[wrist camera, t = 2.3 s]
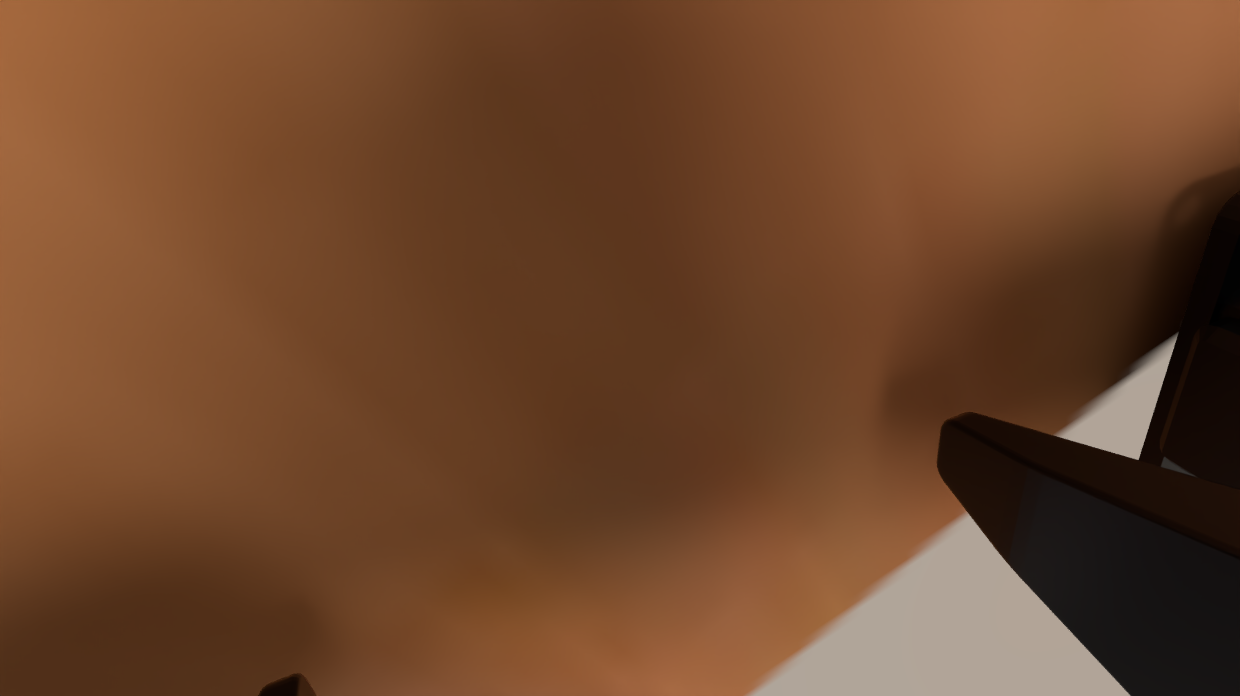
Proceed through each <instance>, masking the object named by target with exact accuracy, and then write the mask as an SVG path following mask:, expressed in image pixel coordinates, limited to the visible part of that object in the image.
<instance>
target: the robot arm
mask: <svg viewBox="0 0 1240 696" xmlns="http://www.w3.org/2000/svg"><path fill="white" fill-rule="evenodd" d="M937 468H938V471H939V474H940V476H941V478H942V479H943V481H944V482H945V484H946V485H947V486H948V487H949V489H950V490H951V491H952V493H953V494H954V495H955V497H956V498H957V499H958V500H959V502H960V503H961V504H962V506H963V507H964V508H965V510H966V511H967V512H968V513H969V515H970V516H971V517H972V519H973V520H974V521H975V522H976V524H977V525H978V526H979V528H980V529H981V530H982V532H983V533H984V534H985V535H986V537H987V538H988V539H989V541H990V542H991V543H992V544H993V546H994V547H995V549H996V550H997V551H998V552H999V554H1000V555H1001V556H1002V557H1003V558H1004V560H1005V561H1006V562H1007V563H1008V564H1009V565H1010V567H1011V568H1012V569H1013V570H1014V571H1015V572H1016V573H1017V574H1018V576H1019V577H1020V578H1021V579H1022V580H1023V581H1024V582H1025V583H1026V584H1027V585H1028V586H1029V587H1030V588H1031V590H1032V591H1033V592H1034V593H1035V594H1036V595H1037V596H1038V597H1039V598H1040V599H1041V600H1042V601H1043V602H1044V604H1045V605H1047V607H1048V608H1049V609H1050V610H1051V611H1052V612H1053V613H1054V614H1055V615H1056V616H1057V617H1058V618H1059V620H1060V621H1061V622H1062V623H1063V624H1064V625H1065V626H1066V627H1067V628H1068V629H1069V630H1070V631H1071V632H1072V633H1073V635H1074V636H1075V637H1076V638H1077V639H1078V640H1079V641H1080V642H1081V643H1082V644H1083V645H1084V646H1085V647H1086V648H1087V650H1088V651H1089V652H1090V653H1091V654H1092V655H1093V656H1094V657H1095V658H1096V659H1097V660H1098V661H1099V662H1100V663H1101V665H1102V666H1103V667H1104V668H1105V669H1106V670H1107V671H1108V672H1109V673H1110V674H1111V675H1112V676H1113V677H1114V678H1115V679H1116V681H1117V682H1118V683H1119V684H1120V685H1121V686H1122V687H1123V688H1124V689H1125V690H1126V691H1127V692H1128V693H1129V694H1130V696H1240V192H1238V193H1236V194H1235V195H1234V196H1233V197H1232V198H1231V199H1230V200H1229V201H1228V202H1227V203H1226V204H1225V205H1224V206H1223V208H1222V209H1221V211H1220V212H1219V213H1218V215H1217V217H1216V219H1215V221H1214V224H1213V226H1212V228H1211V232H1210V235H1209V238H1208V241H1207V244H1206V248H1205V251H1204V254H1203V257H1202V260H1201V263H1200V267H1199V270H1198V273H1197V276H1196V279H1195V283H1194V286H1193V289H1192V292H1191V295H1190V298H1189V302H1188V305H1187V308H1186V311H1185V314H1184V318H1183V321H1182V324H1181V327H1180V330H1179V333H1178V337H1177V340H1176V343H1175V346H1174V349H1173V352H1172V356H1171V359H1170V362H1169V365H1168V369H1167V372H1166V375H1165V378H1164V381H1163V384H1162V388H1161V391H1160V394H1159V397H1158V401H1157V403H1156V407H1155V410H1154V413H1153V416H1152V419H1151V422H1150V426H1149V429H1148V432H1147V435H1146V439H1145V442H1144V445H1143V448H1142V451H1141V454H1140V458H1139V460H1136V459H1132V458H1129V457H1125V456H1122V455H1119V454H1115V453H1111V452H1108V451H1104V450H1101V449H1098V448H1094V447H1091V446H1088V445H1084V444H1080V443H1077V442H1073V441H1070V440H1067V439H1063V438H1060V437H1057V436H1053V435H1050V434H1046V433H1043V432H1039V431H1036V430H1032V429H1029V428H1026V427H1022V426H1019V425H1015V424H1012V423H1008V422H1005V421H1001V420H998V419H994V418H991V417H988V416H984V415H981V414H977V413H973V412H967V413H963V414H960V415H958V416H955V417H952V418H950V419H947V420H946V421H944V423H943V424H942V426H941V430H940V438H939V447H938V455H937ZM258 696H317V695H316V694H315V692H314V691H313V689H312V687H311V686H310V684H309V682H308V681H307V679H306V678H305V677H304V676H303V675H302V674H299V673H297V674H292V675H290V676H287V677H285V678H282V679H279V680H277V681H274V682H272V683H269V684H268V685H266V686H265V687H264V688H263V689H262V690H261V691H260V693H259V695H258Z"/></svg>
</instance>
